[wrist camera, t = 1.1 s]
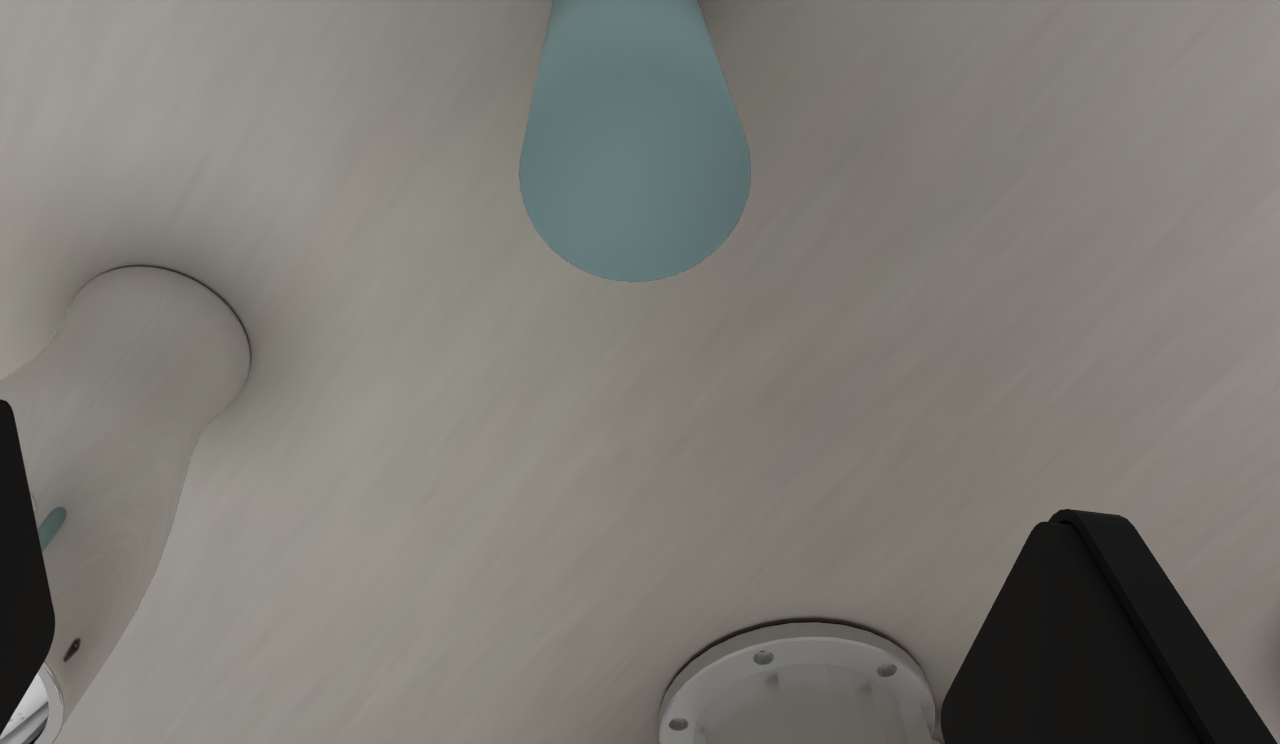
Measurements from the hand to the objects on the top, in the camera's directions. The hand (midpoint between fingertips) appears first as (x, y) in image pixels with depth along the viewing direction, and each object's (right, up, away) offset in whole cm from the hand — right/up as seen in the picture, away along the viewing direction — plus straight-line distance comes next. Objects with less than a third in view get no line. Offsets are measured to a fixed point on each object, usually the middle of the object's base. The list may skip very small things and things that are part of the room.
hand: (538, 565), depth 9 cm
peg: (0, +13, +20) cm, 23 cm away
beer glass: (-16, +3, +25) cm, 30 cm away
